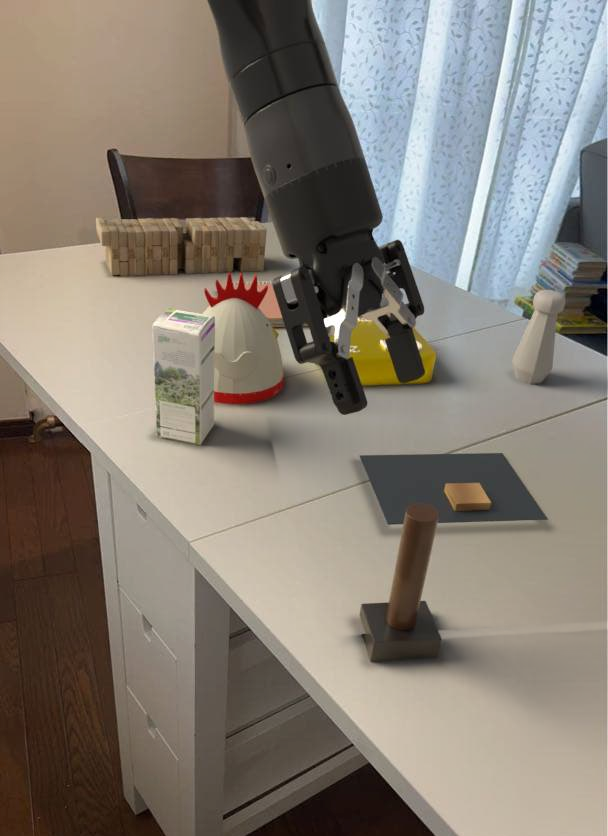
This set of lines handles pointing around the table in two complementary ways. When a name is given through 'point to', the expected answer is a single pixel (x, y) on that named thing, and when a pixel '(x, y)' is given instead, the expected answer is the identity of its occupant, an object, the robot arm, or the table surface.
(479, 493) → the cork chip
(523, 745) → the table surface
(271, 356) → the kitchen timer
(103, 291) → the table surface
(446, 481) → the board
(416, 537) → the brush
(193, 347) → the syrup box
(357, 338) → the element tile
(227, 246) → the block tower
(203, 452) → the table surface
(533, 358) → the salt shaker
